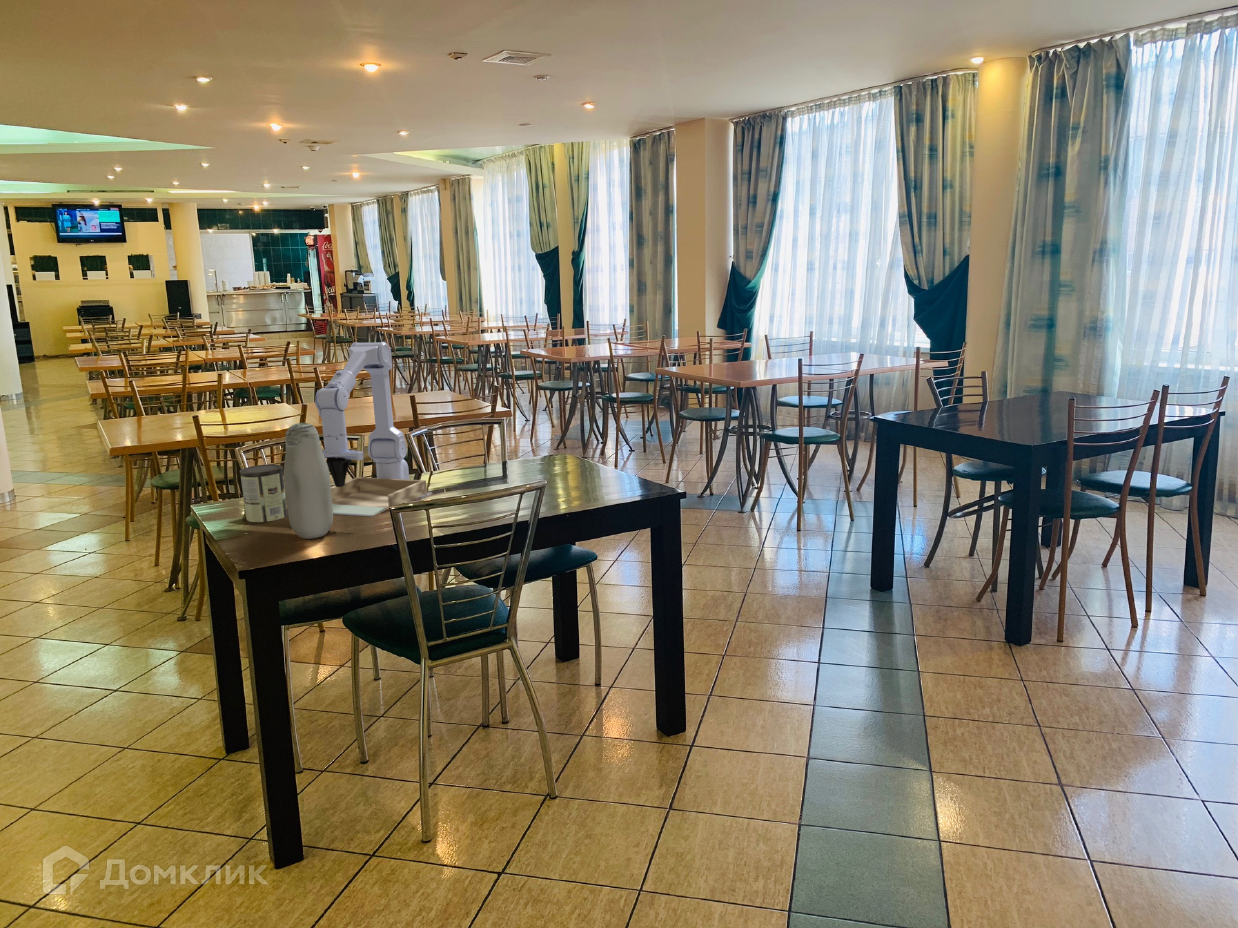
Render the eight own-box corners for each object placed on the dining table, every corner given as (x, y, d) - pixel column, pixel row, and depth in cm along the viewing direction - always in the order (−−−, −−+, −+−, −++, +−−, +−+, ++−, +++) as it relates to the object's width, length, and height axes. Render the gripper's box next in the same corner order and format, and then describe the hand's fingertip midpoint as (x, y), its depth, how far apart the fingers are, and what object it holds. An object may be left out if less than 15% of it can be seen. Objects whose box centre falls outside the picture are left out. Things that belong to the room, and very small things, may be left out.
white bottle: (297, 532, 220) (284, 420, 214) (339, 530, 220) (328, 419, 214) (285, 544, 210) (272, 427, 204) (329, 542, 211) (317, 425, 205)
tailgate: (324, 503, 240) (307, 512, 234) (385, 507, 234) (370, 516, 228) (325, 508, 240) (308, 516, 234) (386, 512, 234) (371, 521, 228)
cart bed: (359, 493, 258) (357, 477, 257) (427, 497, 250) (425, 480, 249) (322, 509, 242) (320, 491, 241) (393, 513, 235) (391, 495, 234)
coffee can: (263, 515, 238) (256, 463, 235) (296, 516, 235) (290, 464, 232) (237, 525, 228) (230, 472, 225) (271, 527, 225) (265, 473, 222)
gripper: (301, 436, 227) (307, 488, 230) (349, 438, 222) (354, 491, 225) (318, 431, 233) (324, 482, 236) (366, 433, 229) (371, 484, 231)
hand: (340, 486), depth 231 cm, fingers closed
